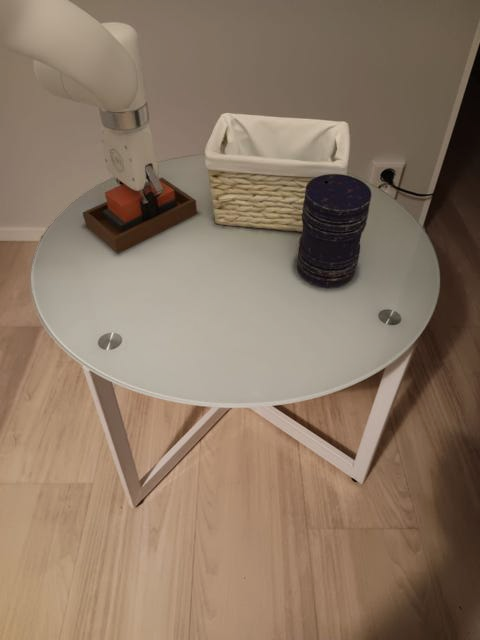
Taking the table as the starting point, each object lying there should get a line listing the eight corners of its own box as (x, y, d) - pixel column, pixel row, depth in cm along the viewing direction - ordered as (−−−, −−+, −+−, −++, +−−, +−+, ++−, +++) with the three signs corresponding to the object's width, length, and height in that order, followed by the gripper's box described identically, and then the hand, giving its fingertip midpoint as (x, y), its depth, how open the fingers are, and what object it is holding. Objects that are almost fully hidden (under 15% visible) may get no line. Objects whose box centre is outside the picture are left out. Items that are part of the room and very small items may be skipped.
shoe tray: (117, 253, 88) (114, 239, 86) (85, 226, 93) (82, 212, 91) (196, 214, 96) (196, 200, 94) (163, 190, 101) (161, 177, 99)
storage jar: (367, 275, 84) (386, 198, 73) (319, 296, 81) (332, 218, 70) (330, 243, 90) (343, 167, 79) (284, 261, 87) (291, 184, 76)
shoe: (122, 232, 89) (117, 208, 86) (104, 217, 92) (98, 193, 89) (177, 206, 95) (174, 182, 91) (158, 192, 98) (155, 169, 94)
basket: (205, 227, 93) (200, 153, 82) (221, 180, 104) (220, 109, 93) (336, 241, 90) (349, 166, 80) (339, 191, 101) (351, 119, 91)
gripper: (75, 102, 83) (97, 198, 96) (135, 141, 74) (151, 240, 87) (114, 89, 86) (131, 183, 99) (176, 125, 77) (185, 222, 90)
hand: (140, 209), depth 93 cm, fingers closed on shoe, 6 cm apart
